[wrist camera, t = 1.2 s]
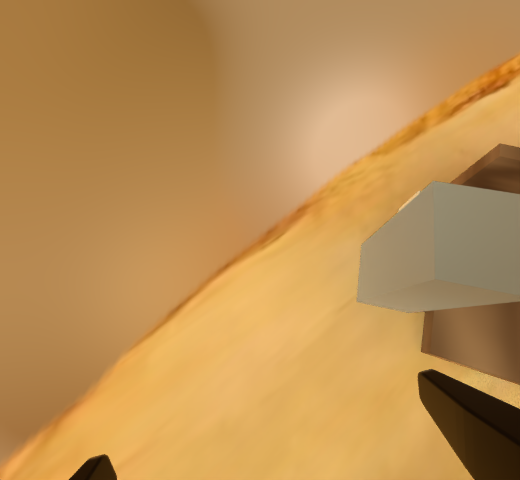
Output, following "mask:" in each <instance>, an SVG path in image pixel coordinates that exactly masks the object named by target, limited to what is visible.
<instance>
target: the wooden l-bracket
mask: <svg viewBox="0 0 520 480" xmlns="http://www.w3.org/2000/svg"><path fill="white" fill-rule="evenodd" d="M450 184H457V185H463V186H470V187H476V188H483V189H489V190H496V191H502V192H508V193H515V194H520V148H519V147H514V146H509V145H504V144H499V145H497V146H496V147H495V148H494V149H492V150H491V151H490V152H489V153H487V154H486V155H485V156H484V157H482V158H481V159H480V160H478V161H477V162H476V163H475V164H473V165H472V166H471V167H470V168H468V169H467V170H466V171H465V172H463V173H462V174H461V175H460V176H458V177H457V178H456V179H455V180H453V181H452V182H451V183H450ZM421 352H423V353H426V354H429V355H432V356H435V357H438V358H441V359H444V360H447V361H450V362H453V363H456V364H459V365H462V366H465V367H468V368H471V369H474V370H477V371H480V372H483V373H486V374H489V375H492V376H495V377H498V378H501V379H504V380H507V381H510V382H513V383H516V384H519V385H520V301H519V302H509V303H500V304H490V305H480V306H471V307H461V308H451V309H442V310H432V311H425V319H424V328H423V338H422V347H421Z"/></svg>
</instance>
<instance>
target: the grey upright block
mask: <svg viewBox="0 0 520 480" xmlns="http://www.w3.org/2000/svg"><path fill="white" fill-rule="evenodd" d="M519 301H520V194H515V193H508V192H502V191H496V190H489V189H483V188H476V187H470V186H463V185H457V184H450V183H444V182H437V181H432V182H431V183H430V184H429V185H428V186H427V187H426V188H425V189H423V190H422V191H418V192H417V193H416V194H415V195H413V196H412V197H411V198H410V199H409V200H408V201H407V202H406V203H405V204H404V205H403V206H401V207H400V208H399V209H398V213H397V214H396V215H394V216H393V217H392V218H391V219H390V220H389V221H388V222H387V223H385V224H384V225H383V226H382V227H381V228H380V229H379V230H378V231H376V232H375V233H374V234H373V235H372V236H371V237H370V238H369V239H368V240H366V241H365V242H364V243H363V244H362V245H361V256H360V268H359V280H358V292H357V302H360V303H364V304H369V305H374V306H379V307H383V308H388V309H393V310H397V311H402V312H407V313H413V312H422V311H432V310H442V309H451V308H461V307H471V306H480V305H490V304H500V303H509V302H519Z"/></svg>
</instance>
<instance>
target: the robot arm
mask: <svg viewBox="0 0 520 480" xmlns="http://www.w3.org/2000/svg"><path fill="white" fill-rule="evenodd" d="M418 386H419V395H420V399H421V401H422V403H423V405H424V407H425V408H426V410H427V411H428V413H429V414H430V416H431V417H432V419H433V420H434V422H435V423H436V425H437V426H438V428H439V429H440V431H441V432H442V434H443V435H444V437H445V438H446V440H447V441H448V443H449V444H450V446H451V447H452V449H453V450H454V452H455V453H456V455H457V456H458V457H459V459H460V460H461V462H462V463H463V465H464V466H465V468H466V469H467V470H468V472H469V473H470V474H471V476H472V477H473V478H474V480H520V409H519V408H517V407H514V406H512V405H510V404H508V403H506V402H503V401H501V400H499V399H497V398H495V397H493V396H490V395H488V394H486V393H484V392H482V391H480V390H477V389H475V388H473V387H471V386H469V385H466V384H464V383H462V382H460V381H458V380H456V379H453V378H451V377H449V376H447V375H445V374H443V373H440V372H438V371H436V370H433V369H429V370H425V371H422V372H419V373H418ZM69 480H117V476H116V473H115V471H114V468H113V466H112V464H111V462H110V459H109V457H108V456H107V455H105V454H103V455H99V456H95V457H92V458H90V459H88V460H87V461H86V462H85V463H84V464H83V465H82V466H81V467H80V468H79V469H78V471H77V472H76V473H75V474H74V475H73V476H72V477H71V478H70V479H69Z"/></svg>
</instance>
